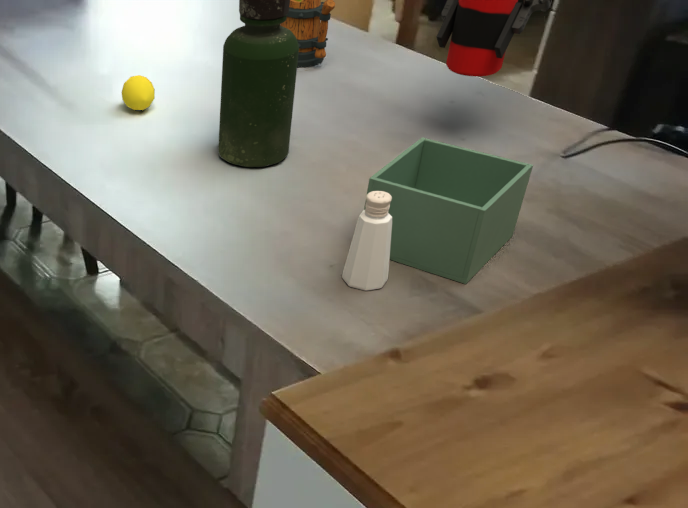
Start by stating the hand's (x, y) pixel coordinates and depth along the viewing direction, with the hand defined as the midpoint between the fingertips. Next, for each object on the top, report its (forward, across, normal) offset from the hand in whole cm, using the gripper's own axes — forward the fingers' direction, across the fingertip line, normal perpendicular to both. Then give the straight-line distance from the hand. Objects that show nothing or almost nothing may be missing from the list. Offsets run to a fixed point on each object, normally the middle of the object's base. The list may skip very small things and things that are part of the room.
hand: (468, 47), depth 128 cm
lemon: (+20, +47, 0) cm, 51 cm away
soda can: (0, 0, -5) cm, 5 cm away
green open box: (+30, -11, +9) cm, 33 cm away
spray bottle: (+23, +22, +3) cm, 32 cm away
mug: (-4, +36, -24) cm, 44 cm away
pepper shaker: (+39, -8, +18) cm, 44 cm away
